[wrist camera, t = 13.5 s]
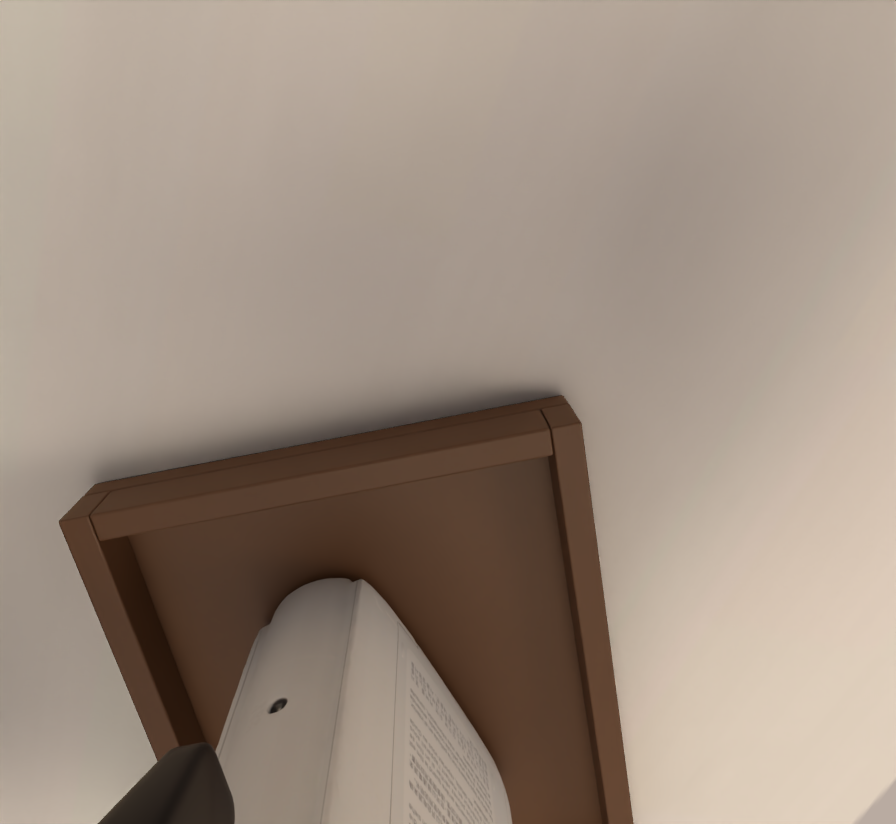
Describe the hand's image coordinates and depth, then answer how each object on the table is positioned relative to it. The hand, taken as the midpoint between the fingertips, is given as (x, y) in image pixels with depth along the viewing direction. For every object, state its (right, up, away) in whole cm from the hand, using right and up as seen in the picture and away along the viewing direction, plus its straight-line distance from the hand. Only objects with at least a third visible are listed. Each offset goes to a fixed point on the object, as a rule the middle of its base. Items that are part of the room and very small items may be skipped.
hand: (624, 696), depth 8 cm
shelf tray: (-4, -6, +16) cm, 17 cm away
